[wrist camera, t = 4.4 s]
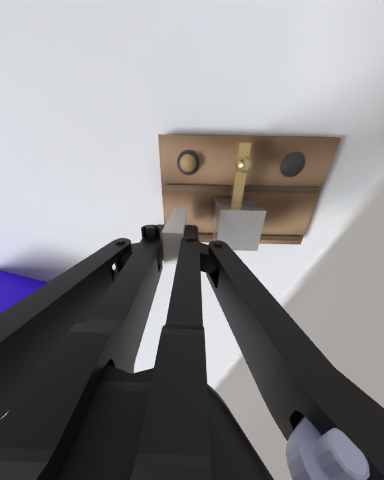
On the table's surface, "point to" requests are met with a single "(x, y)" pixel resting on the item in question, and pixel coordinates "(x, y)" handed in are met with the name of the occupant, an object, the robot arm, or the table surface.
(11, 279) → the bracket
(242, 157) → the slider with brass pointer
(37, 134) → the table surface
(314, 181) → the wooden knob panel
